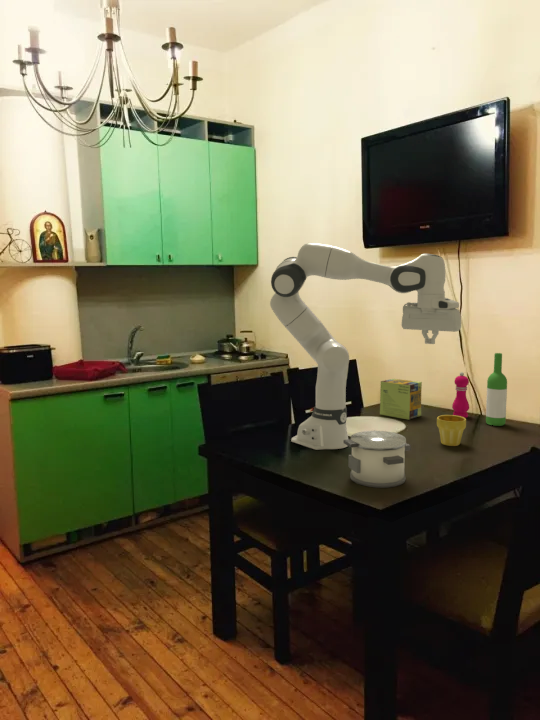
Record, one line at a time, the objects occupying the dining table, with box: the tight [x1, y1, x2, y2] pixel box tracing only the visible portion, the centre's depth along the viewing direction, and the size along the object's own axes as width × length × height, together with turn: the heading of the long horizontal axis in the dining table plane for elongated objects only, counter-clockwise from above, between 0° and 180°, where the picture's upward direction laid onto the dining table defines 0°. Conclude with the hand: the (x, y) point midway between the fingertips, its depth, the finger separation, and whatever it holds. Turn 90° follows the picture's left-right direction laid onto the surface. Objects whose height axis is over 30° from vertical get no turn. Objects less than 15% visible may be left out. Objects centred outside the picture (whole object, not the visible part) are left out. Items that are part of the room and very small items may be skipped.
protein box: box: [379, 378, 423, 420], centre depth 260 cm, size 10×15×16 cm
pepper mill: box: [451, 371, 470, 419], centre depth 255 cm, size 7×7×20 cm
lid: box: [343, 430, 407, 450], centre depth 176 cm, size 19×17×2 cm
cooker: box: [348, 442, 412, 489], centre depth 178 cm, size 18×21×11 cm
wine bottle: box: [485, 352, 508, 427], centre depth 240 cm, size 8×8×30 cm
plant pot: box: [436, 414, 467, 447], centre depth 214 cm, size 10×10×10 cm
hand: (429, 343), depth 195 cm, fingers closed
